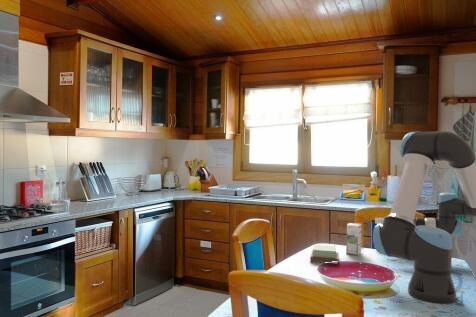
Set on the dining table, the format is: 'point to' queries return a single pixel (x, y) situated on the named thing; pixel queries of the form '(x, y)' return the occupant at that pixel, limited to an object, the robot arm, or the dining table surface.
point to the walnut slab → (323, 259)
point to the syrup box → (353, 239)
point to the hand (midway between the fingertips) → (376, 223)
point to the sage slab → (324, 251)
